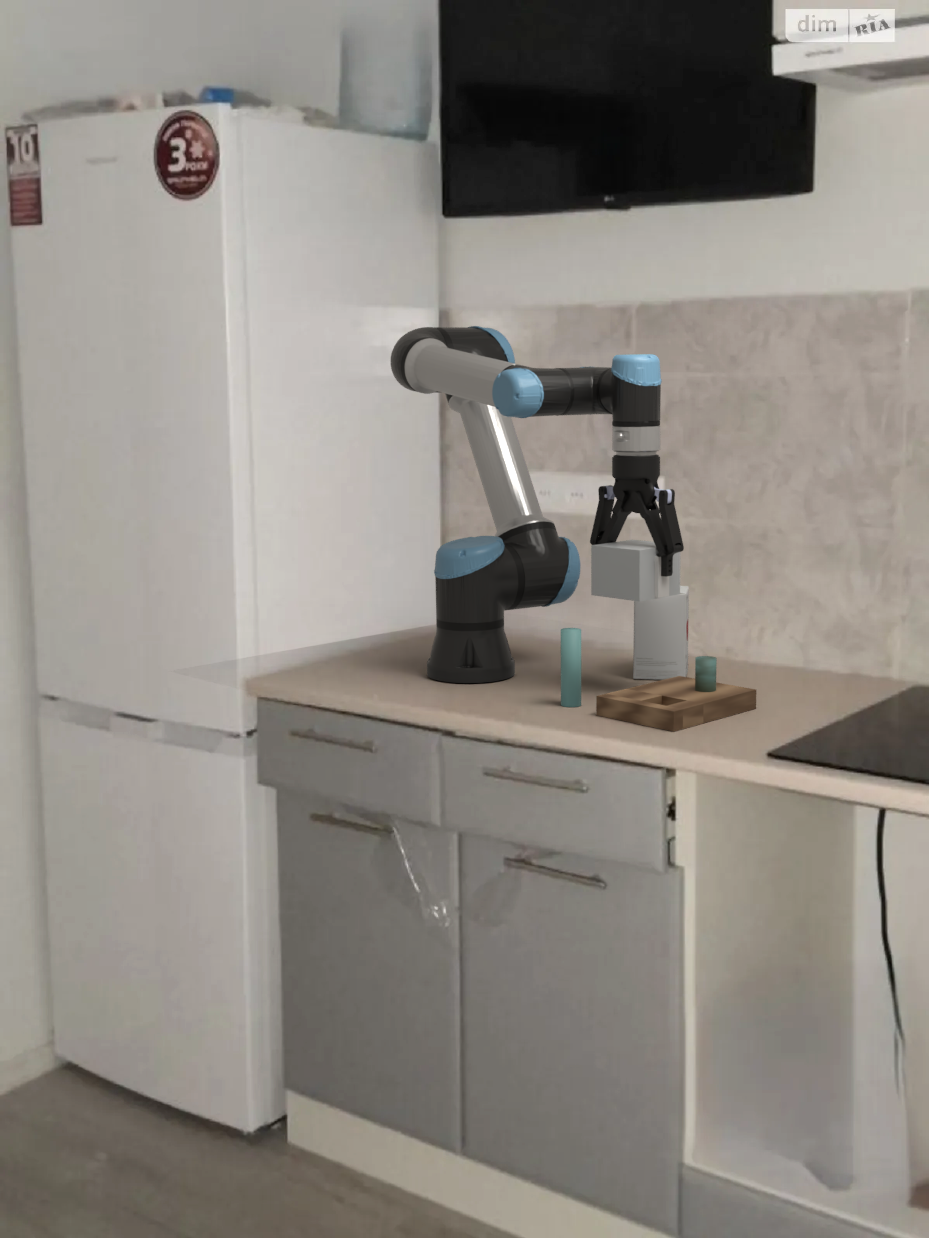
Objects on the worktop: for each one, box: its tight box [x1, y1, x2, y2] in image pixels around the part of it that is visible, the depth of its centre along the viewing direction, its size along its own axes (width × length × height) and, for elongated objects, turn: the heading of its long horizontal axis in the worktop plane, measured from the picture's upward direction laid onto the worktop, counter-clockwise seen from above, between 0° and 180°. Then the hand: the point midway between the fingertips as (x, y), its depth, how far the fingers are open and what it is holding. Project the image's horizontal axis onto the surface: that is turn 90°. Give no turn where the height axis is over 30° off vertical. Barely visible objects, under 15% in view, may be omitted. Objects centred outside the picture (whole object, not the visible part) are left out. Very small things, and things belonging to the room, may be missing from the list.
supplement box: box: [632, 585, 690, 681], centre depth 258 cm, size 9×9×15 cm
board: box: [595, 655, 757, 732], centre depth 232 cm, size 15×20×8 cm
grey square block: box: [590, 539, 681, 602], centre depth 242 cm, size 10×10×8 cm
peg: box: [560, 627, 582, 708], centre depth 238 cm, size 3×3×12 cm
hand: (635, 593), depth 243 cm, fingers closed on grey square block, 10 cm apart
